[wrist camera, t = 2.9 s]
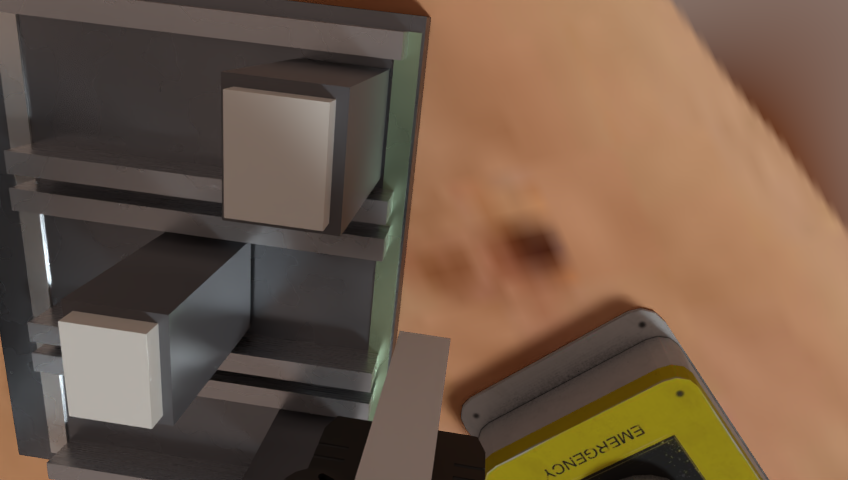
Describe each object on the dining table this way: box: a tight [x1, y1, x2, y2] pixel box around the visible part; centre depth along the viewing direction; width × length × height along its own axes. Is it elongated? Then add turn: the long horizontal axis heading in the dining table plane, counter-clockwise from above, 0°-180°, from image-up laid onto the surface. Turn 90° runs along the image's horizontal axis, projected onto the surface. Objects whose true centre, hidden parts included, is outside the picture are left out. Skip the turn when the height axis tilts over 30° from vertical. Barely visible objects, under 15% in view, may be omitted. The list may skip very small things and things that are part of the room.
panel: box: [0, 0, 431, 480], centre depth 22 cm, size 16×20×3 cm
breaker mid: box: [58, 232, 251, 429], centre depth 19 cm, size 3×4×7 cm
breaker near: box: [221, 58, 390, 236], centre depth 17 cm, size 3×4×7 cm
